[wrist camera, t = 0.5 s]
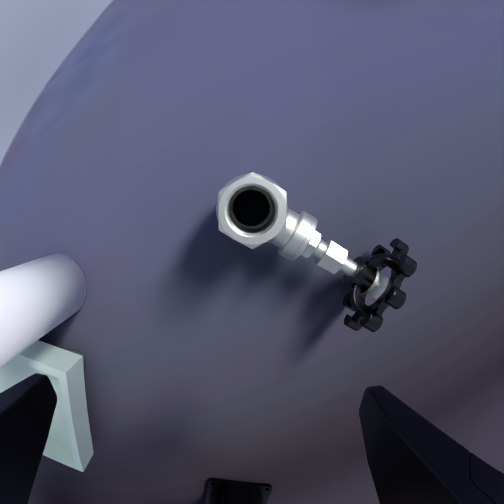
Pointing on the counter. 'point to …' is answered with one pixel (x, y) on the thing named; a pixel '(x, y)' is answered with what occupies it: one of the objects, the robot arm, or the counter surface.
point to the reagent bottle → (37, 301)
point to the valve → (319, 250)
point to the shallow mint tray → (58, 399)
